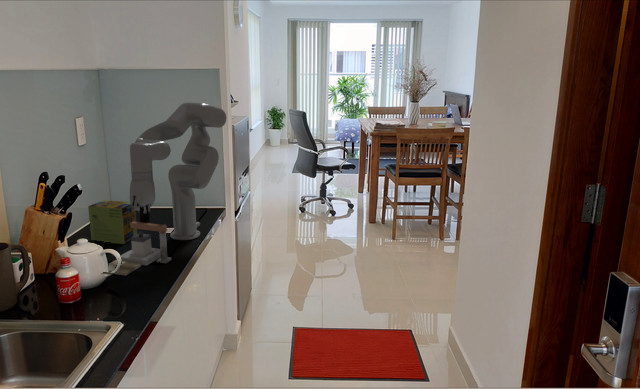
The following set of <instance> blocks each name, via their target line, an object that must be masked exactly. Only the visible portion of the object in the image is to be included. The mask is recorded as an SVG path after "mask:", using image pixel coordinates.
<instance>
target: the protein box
mask: <svg viewBox="0 0 640 389" xmlns="http://www.w3.org/2000/svg"><path fill="white" fill-rule="evenodd" d="M88 217H89V218H88V219H89V229H90V240H97V241H104V242H103V243H105V242H111V243H110V244H120V245H126V244H127V243H129V242H131V237H133V236H135V235H137V234H138V229H134V228H131V225H130V223H132V222H137V213H136V210H134V206H131V205H130V201H122V200H121V201H119V200H106V199H105V200H103V199H102V200H101V201H98V202H95V203H93V204H91V205H88Z"/></svg>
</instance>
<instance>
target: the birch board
mask: <svg viewBox="0 0 640 389" xmlns="http://www.w3.org/2000/svg"><path fill="white" fill-rule="evenodd" d="M117 260H118V259H114V260H113V261H112V262H110V263H108V264H109V272H111V271H113V270H114V269H115V267H116V265H117ZM141 267H142V265H141V263H134V262H127V261H122V264H121V267H120V268H119V269H118V270H117V271H116V272H115V273H114V275H118V276H120V275H121V276H127V275H129V274H131V273H132V272H134V271H136V270H137V269H139V268H141Z"/></svg>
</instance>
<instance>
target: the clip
mask: <svg viewBox="0 0 640 389" xmlns="http://www.w3.org/2000/svg"><path fill="white" fill-rule="evenodd" d="M130 225H131V228H134V229H137V230H142V231H143V230H145V231H152V232H158V233H159V232H166V233H167V232H168V226H167V224H157V223H150V222H149V223H142V222H140V221H136V222H132V223H130Z"/></svg>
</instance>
